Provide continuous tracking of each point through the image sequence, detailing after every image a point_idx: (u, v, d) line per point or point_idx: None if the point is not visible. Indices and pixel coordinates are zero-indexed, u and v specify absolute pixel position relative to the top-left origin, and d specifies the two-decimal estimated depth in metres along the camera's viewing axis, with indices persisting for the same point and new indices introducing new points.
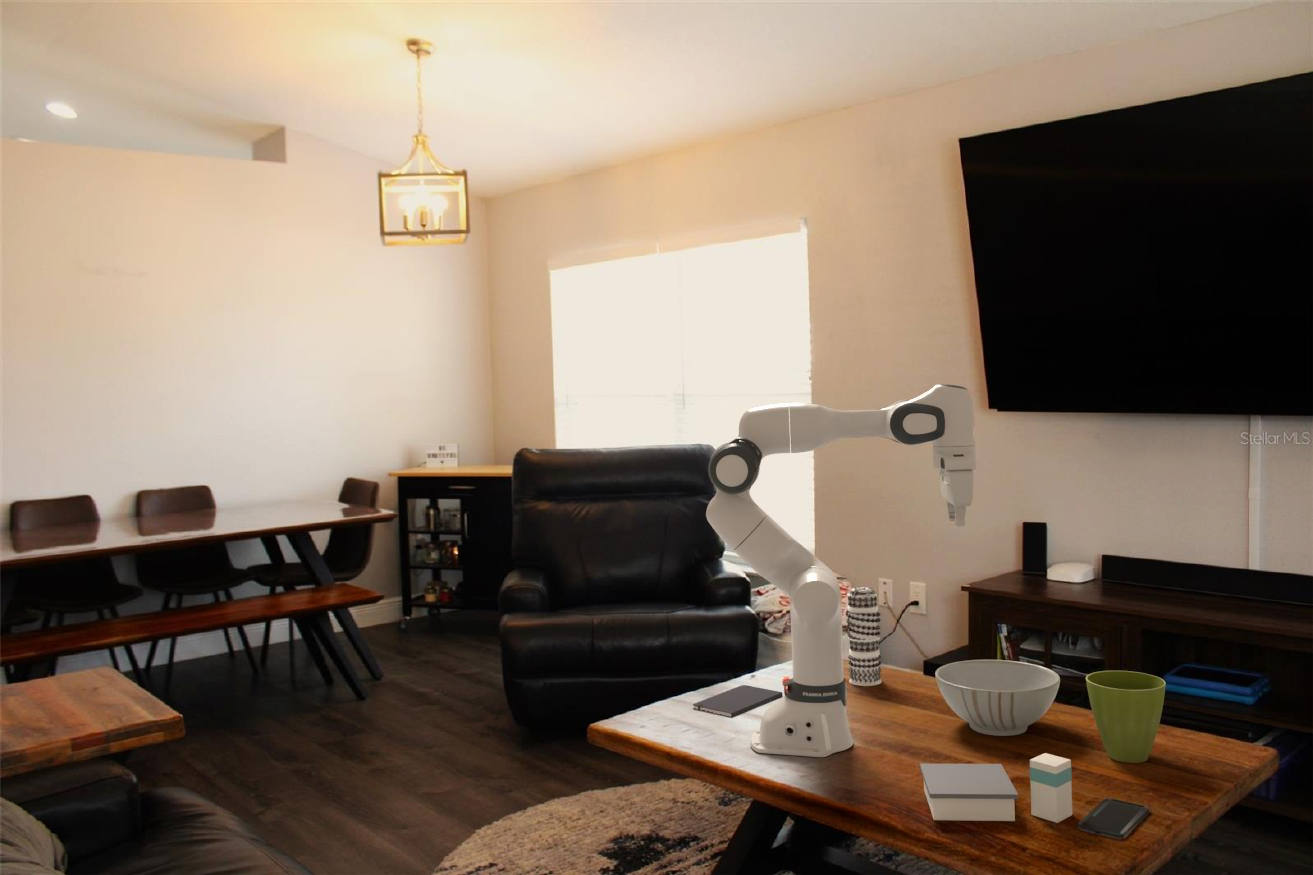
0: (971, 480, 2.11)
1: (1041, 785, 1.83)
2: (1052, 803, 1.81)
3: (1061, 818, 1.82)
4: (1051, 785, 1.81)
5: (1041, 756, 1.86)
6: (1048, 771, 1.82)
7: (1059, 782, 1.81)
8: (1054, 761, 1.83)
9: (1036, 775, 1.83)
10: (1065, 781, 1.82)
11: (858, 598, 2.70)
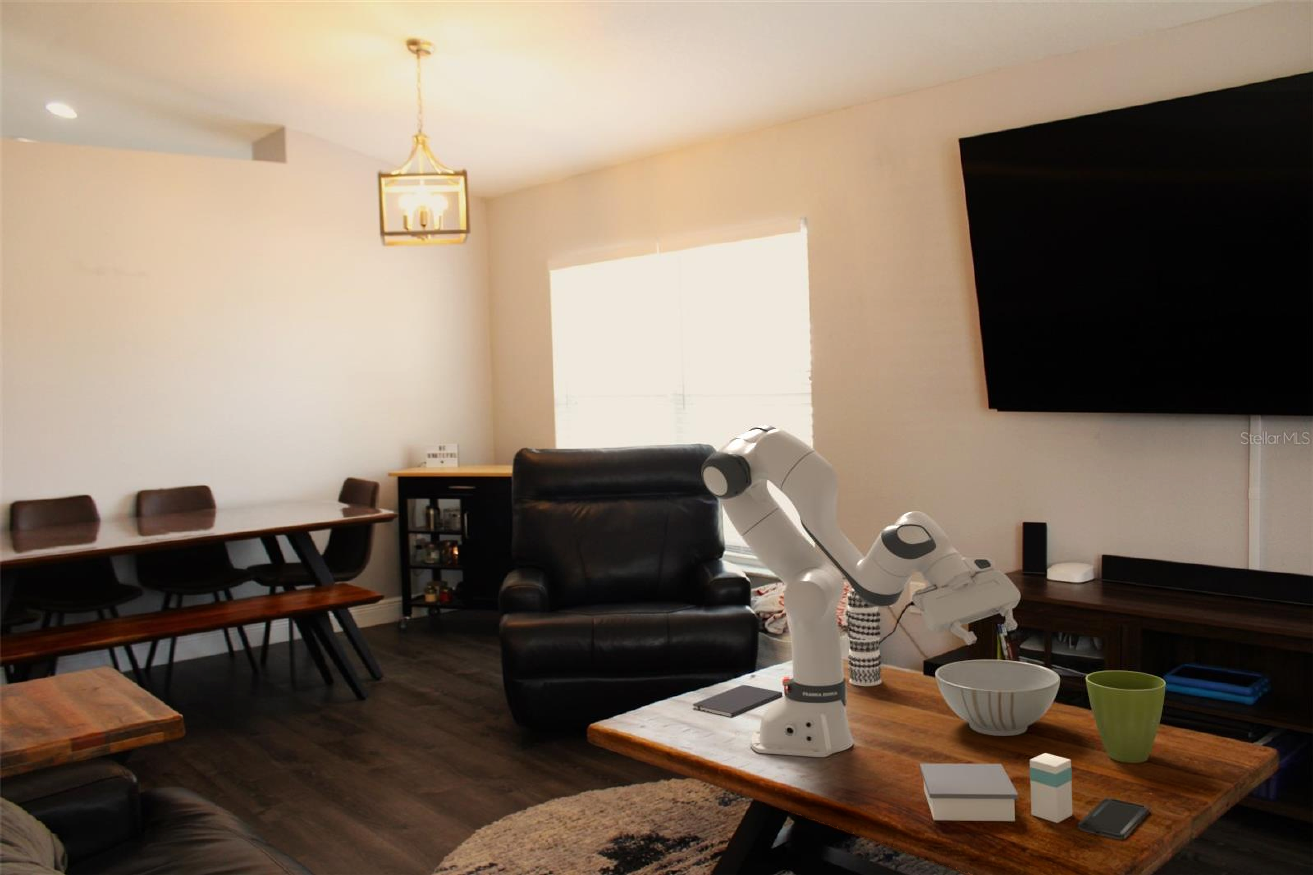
0: None
1: (1041, 785, 1.83)
2: (1052, 803, 1.81)
3: (1061, 818, 1.82)
4: (1051, 785, 1.81)
5: (1042, 756, 1.86)
6: (1048, 771, 1.82)
7: (1059, 782, 1.81)
8: (1054, 761, 1.83)
9: (1036, 775, 1.83)
10: (1065, 781, 1.82)
11: (858, 598, 2.70)
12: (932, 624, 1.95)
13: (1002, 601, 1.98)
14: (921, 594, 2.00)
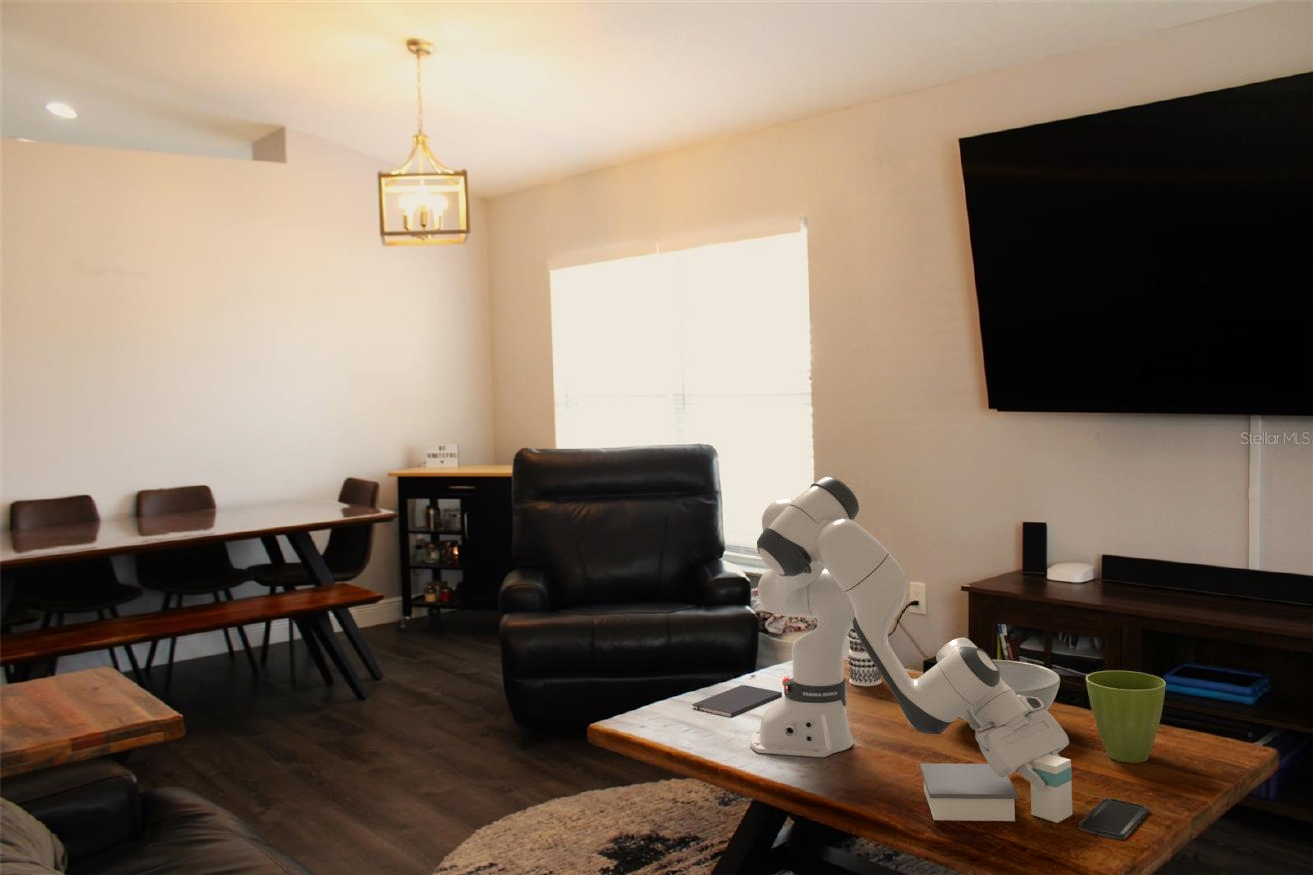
0: None
1: None
2: (1052, 803, 1.81)
3: (1061, 817, 1.82)
4: (1051, 785, 1.81)
5: (1042, 756, 1.86)
6: (1048, 771, 1.82)
7: (1059, 782, 1.81)
8: (1054, 761, 1.83)
9: None
10: (1065, 781, 1.82)
11: None
12: (1001, 767, 1.80)
13: (1056, 746, 1.88)
14: (982, 732, 1.85)
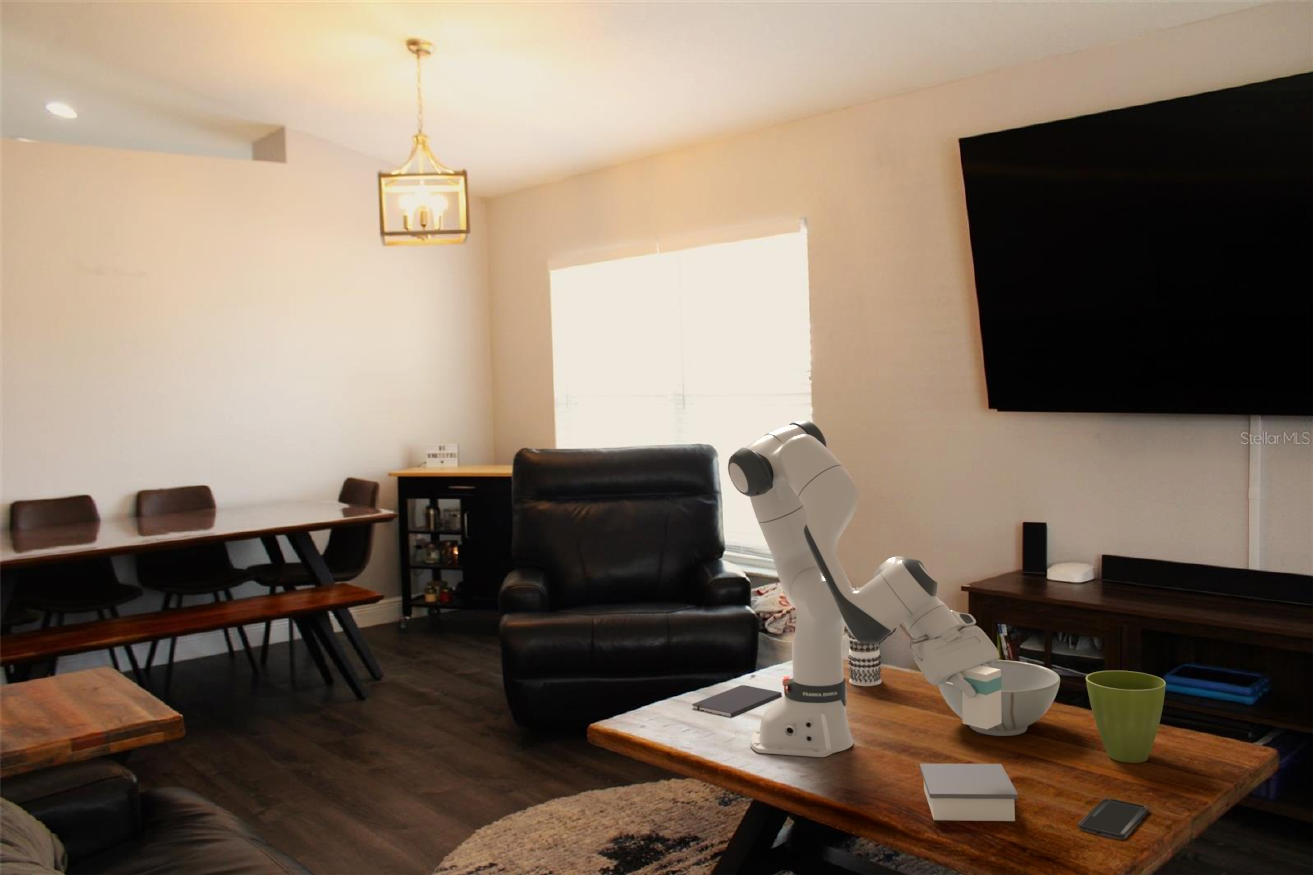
0: None
1: None
2: (982, 710, 1.87)
3: (990, 725, 1.87)
4: (982, 693, 1.87)
5: (973, 667, 1.92)
6: (979, 680, 1.87)
7: (989, 690, 1.87)
8: (985, 670, 1.89)
9: None
10: (995, 690, 1.88)
11: None
12: (934, 675, 1.86)
13: (987, 658, 1.94)
14: (917, 643, 1.90)
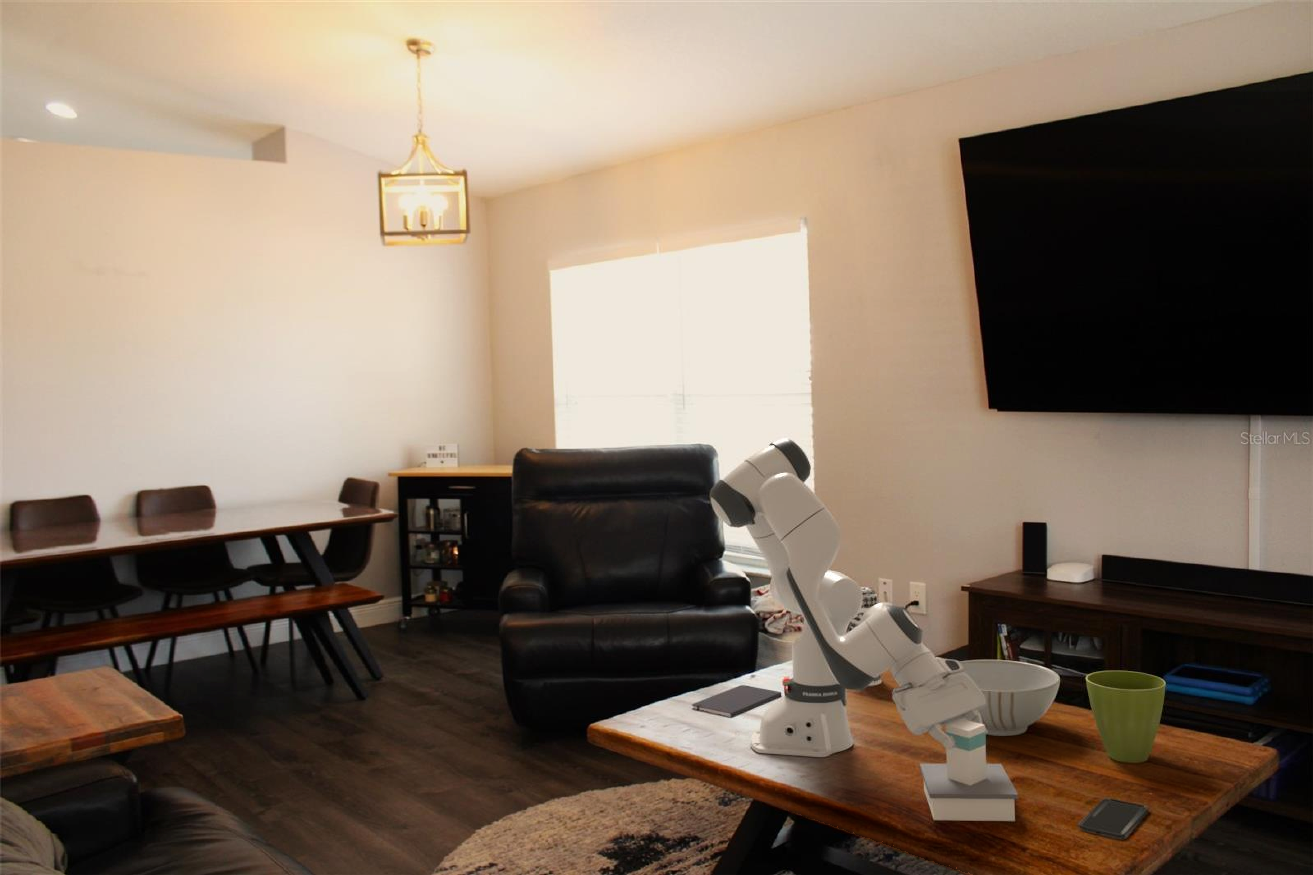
0: None
1: (956, 749, 1.88)
2: (966, 766, 1.87)
3: (974, 780, 1.87)
4: (965, 749, 1.87)
5: (958, 721, 1.92)
6: (962, 736, 1.87)
7: (972, 746, 1.87)
8: (968, 726, 1.89)
9: None
10: (979, 745, 1.88)
11: None
12: (915, 725, 1.86)
13: (973, 706, 1.94)
14: (899, 692, 1.91)
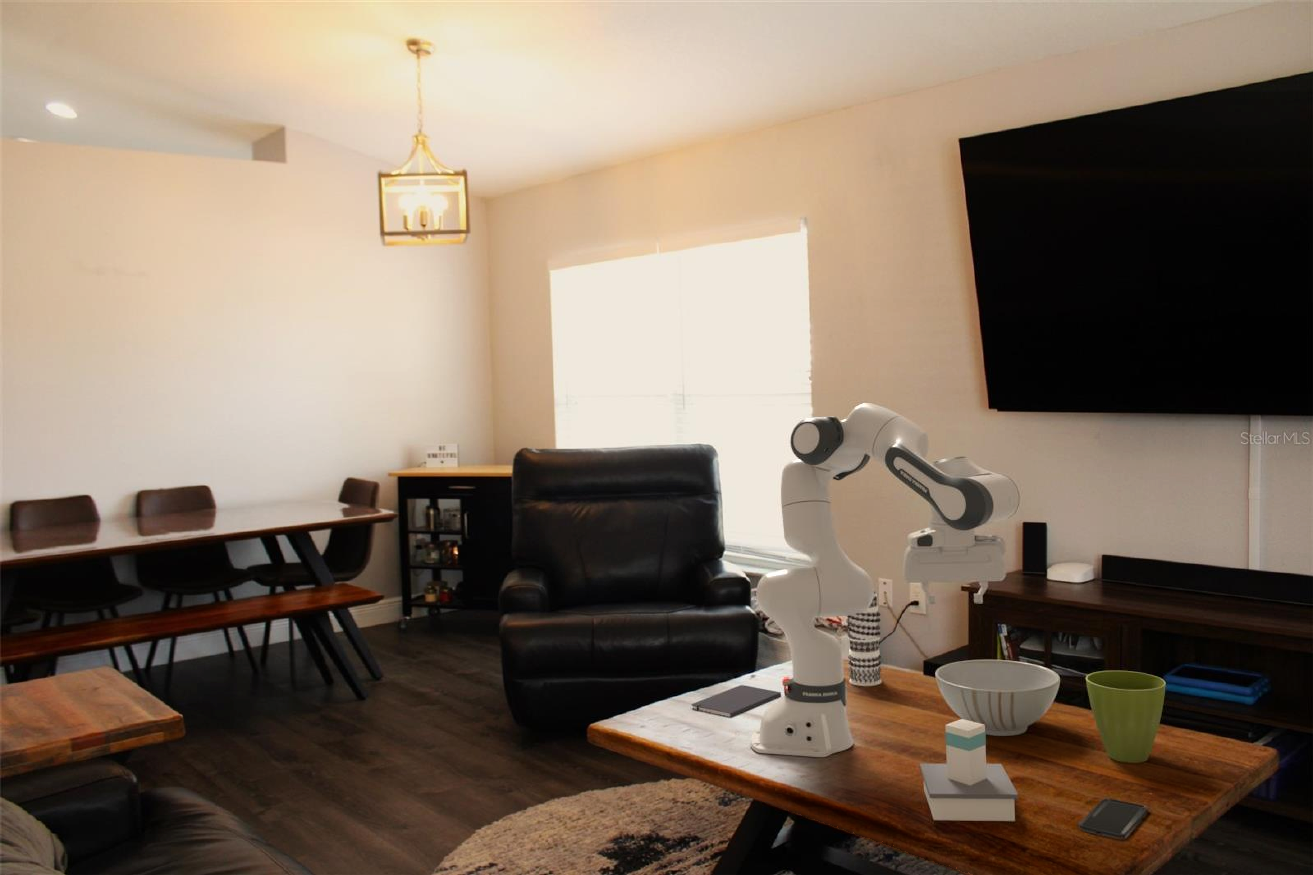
0: (906, 557, 2.10)
1: (956, 749, 1.88)
2: (966, 766, 1.87)
3: (974, 780, 1.87)
4: (965, 749, 1.87)
5: (958, 721, 1.91)
6: (962, 736, 1.87)
7: (972, 746, 1.87)
8: (968, 726, 1.89)
9: (951, 739, 1.89)
10: (979, 745, 1.88)
11: None
12: None
13: None
14: None
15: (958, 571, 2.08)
